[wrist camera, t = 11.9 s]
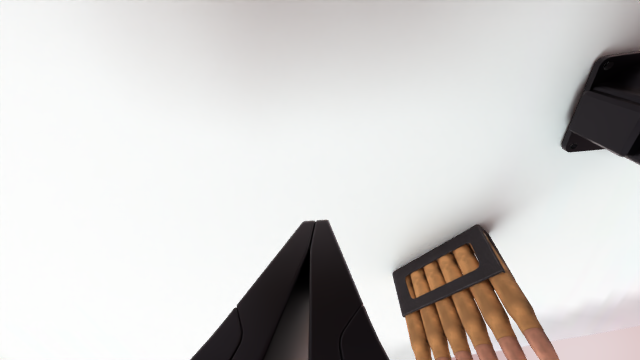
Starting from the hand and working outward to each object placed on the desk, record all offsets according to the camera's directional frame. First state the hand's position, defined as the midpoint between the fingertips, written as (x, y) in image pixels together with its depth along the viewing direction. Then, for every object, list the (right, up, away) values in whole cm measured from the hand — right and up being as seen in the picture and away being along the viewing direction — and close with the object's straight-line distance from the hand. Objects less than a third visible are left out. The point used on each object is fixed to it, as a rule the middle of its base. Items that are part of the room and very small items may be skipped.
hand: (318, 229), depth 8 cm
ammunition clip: (+13, -6, +18) cm, 23 cm away
